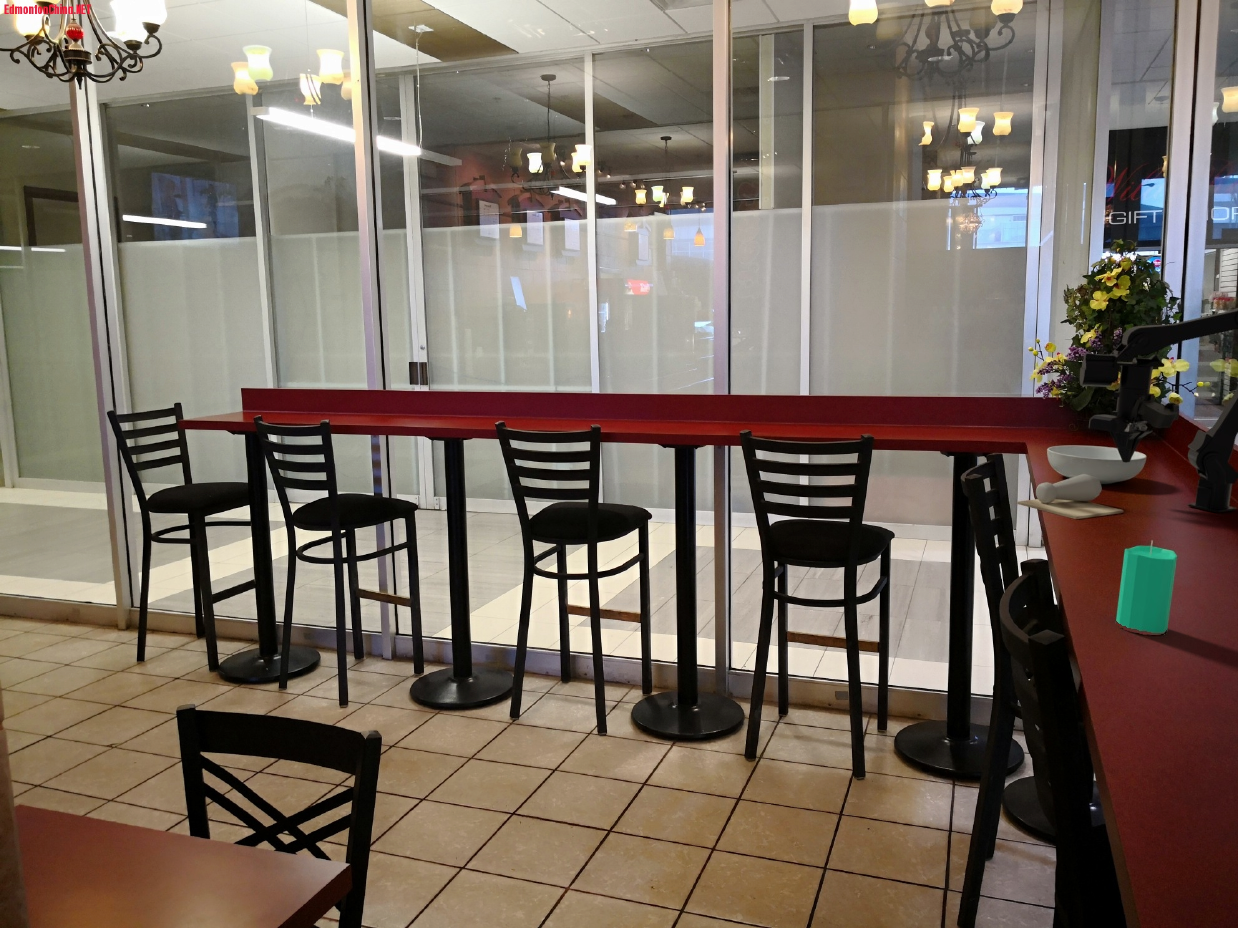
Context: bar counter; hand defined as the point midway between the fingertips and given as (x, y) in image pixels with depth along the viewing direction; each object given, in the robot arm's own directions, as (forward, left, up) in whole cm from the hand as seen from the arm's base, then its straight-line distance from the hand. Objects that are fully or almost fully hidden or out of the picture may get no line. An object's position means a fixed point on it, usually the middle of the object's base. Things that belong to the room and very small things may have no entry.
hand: (1125, 462), depth 202 cm
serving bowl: (-15, -18, -9) cm, 25 cm away
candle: (+68, +52, -9) cm, 86 cm away
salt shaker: (+7, -1, -5) cm, 9 cm away
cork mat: (+16, 0, -9) cm, 18 cm away
